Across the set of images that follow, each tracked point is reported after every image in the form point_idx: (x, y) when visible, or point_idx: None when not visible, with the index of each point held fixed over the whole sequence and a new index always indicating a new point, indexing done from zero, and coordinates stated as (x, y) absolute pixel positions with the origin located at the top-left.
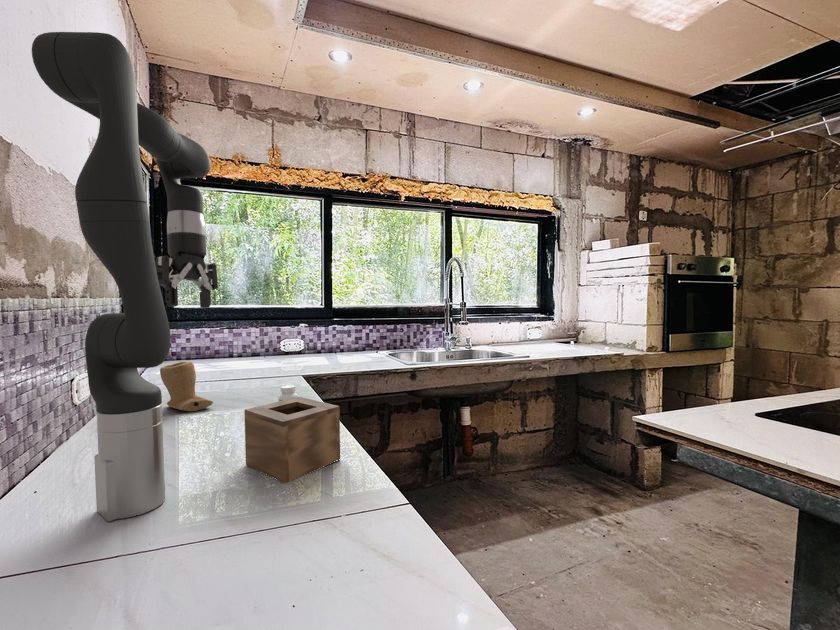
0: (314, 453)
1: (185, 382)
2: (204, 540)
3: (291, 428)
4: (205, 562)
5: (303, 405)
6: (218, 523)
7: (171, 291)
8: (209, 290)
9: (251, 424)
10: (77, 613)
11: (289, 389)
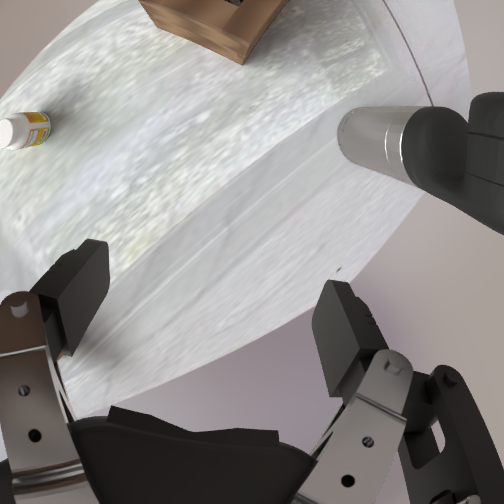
0: None
1: None
2: (404, 38)
3: None
4: (424, 29)
5: None
6: (381, 35)
7: (379, 343)
8: (34, 295)
9: (260, 31)
10: (466, 86)
11: (12, 121)
